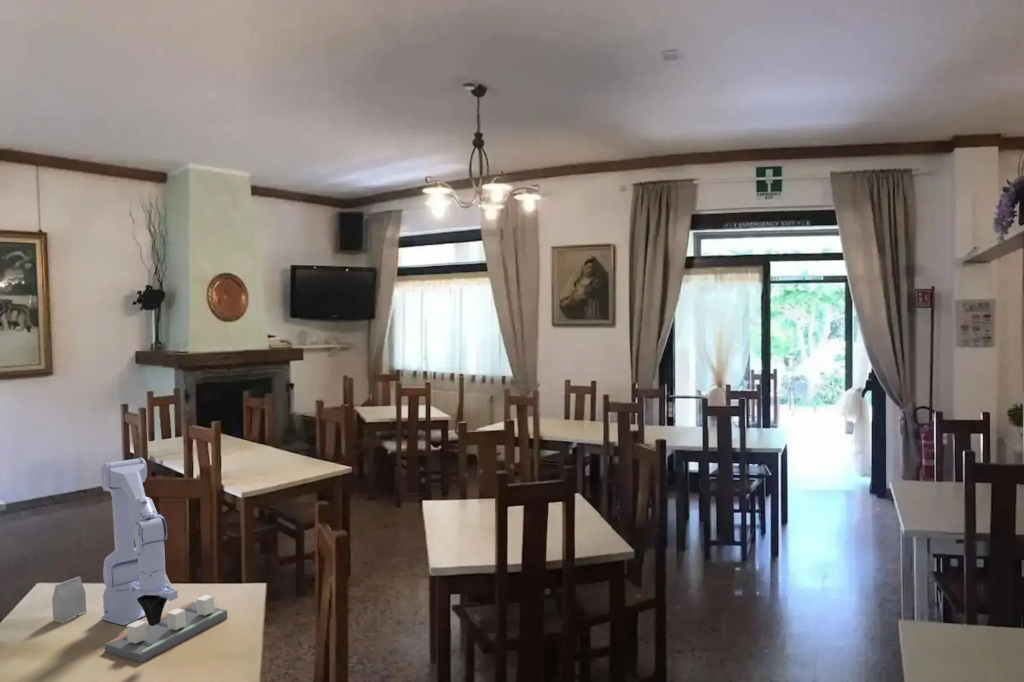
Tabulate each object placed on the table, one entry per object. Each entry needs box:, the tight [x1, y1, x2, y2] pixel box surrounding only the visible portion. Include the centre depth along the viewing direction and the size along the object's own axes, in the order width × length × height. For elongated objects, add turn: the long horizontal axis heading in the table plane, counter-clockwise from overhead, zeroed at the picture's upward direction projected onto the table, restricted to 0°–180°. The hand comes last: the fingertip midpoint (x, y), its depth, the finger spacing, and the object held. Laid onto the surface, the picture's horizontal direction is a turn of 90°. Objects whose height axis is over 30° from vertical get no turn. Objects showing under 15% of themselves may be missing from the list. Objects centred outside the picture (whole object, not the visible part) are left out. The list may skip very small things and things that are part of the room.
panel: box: [104, 601, 228, 663], centre depth 185 cm, size 13×26×2 cm, turn 155°
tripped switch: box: [126, 619, 147, 644], centre depth 177 cm, size 3×3×4 cm
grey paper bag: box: [51, 576, 87, 622], centre depth 195 cm, size 4×7×10 cm, turn 156°
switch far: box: [195, 594, 215, 615], centre depth 192 cm, size 3×3×4 cm
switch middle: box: [166, 607, 186, 630], centre depth 184 cm, size 3×3×4 cm
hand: (154, 623), depth 174 cm, fingers closed
